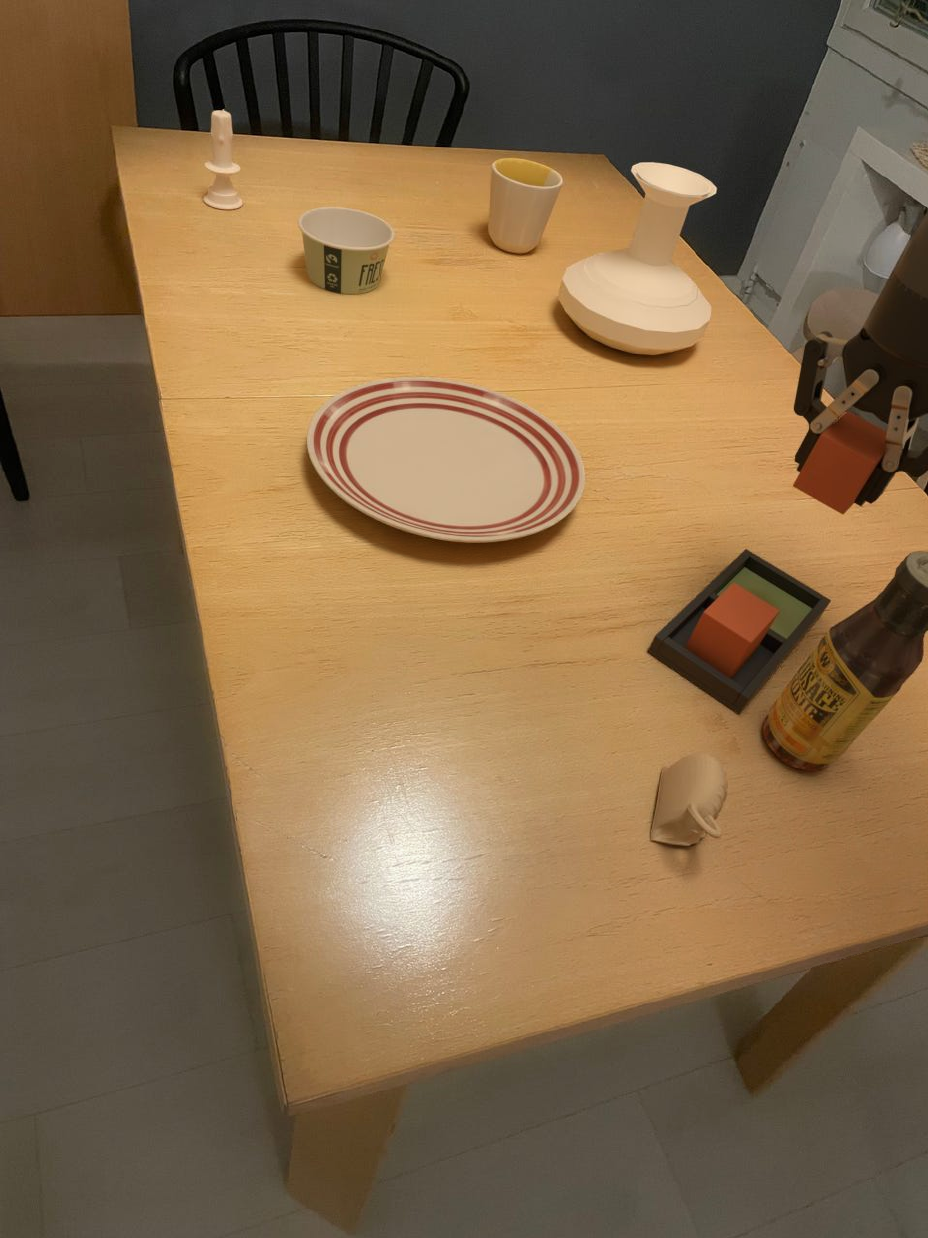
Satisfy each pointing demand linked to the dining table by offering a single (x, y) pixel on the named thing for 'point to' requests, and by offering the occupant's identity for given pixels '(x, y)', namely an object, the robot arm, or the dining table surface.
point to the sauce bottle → (852, 672)
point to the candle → (222, 164)
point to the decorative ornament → (689, 800)
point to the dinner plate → (445, 459)
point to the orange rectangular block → (731, 629)
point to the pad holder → (782, 637)
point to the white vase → (643, 274)
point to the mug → (521, 203)
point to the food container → (344, 248)
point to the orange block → (842, 462)
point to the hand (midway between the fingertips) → (832, 484)
